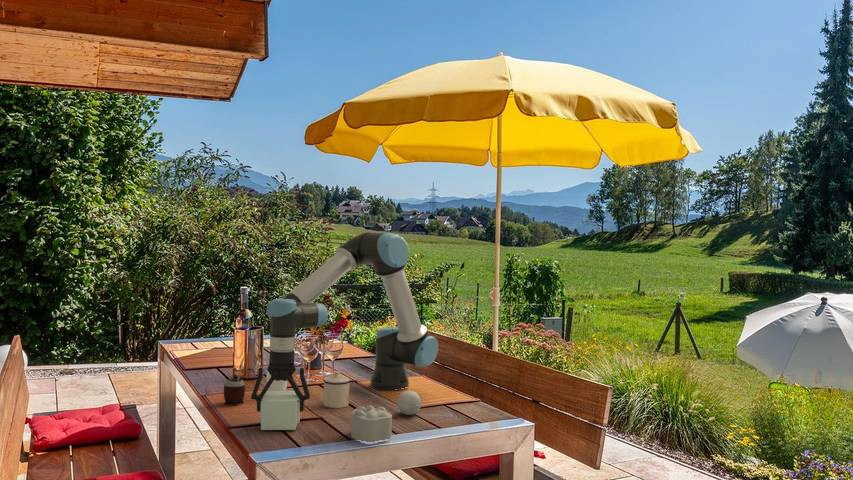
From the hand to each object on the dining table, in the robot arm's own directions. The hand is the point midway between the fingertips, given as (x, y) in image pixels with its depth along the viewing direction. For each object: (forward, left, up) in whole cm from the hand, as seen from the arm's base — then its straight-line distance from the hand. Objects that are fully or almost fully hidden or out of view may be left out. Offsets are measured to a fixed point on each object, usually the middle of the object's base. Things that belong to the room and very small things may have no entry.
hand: (280, 421), depth 202 cm
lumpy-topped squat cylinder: (-27, +10, -2) cm, 29 cm away
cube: (0, 0, -1) cm, 1 cm away
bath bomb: (-41, -13, -2) cm, 43 cm away
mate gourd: (+18, -27, -2) cm, 32 cm away
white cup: (+5, -39, -2) cm, 39 cm away
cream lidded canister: (-16, -26, -2) cm, 31 cm away
